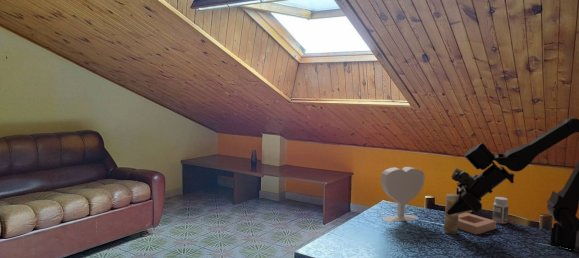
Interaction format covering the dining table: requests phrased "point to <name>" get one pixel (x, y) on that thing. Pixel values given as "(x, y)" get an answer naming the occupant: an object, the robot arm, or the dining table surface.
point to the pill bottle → (500, 210)
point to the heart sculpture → (402, 188)
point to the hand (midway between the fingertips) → (447, 211)
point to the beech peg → (452, 219)
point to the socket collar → (475, 223)
